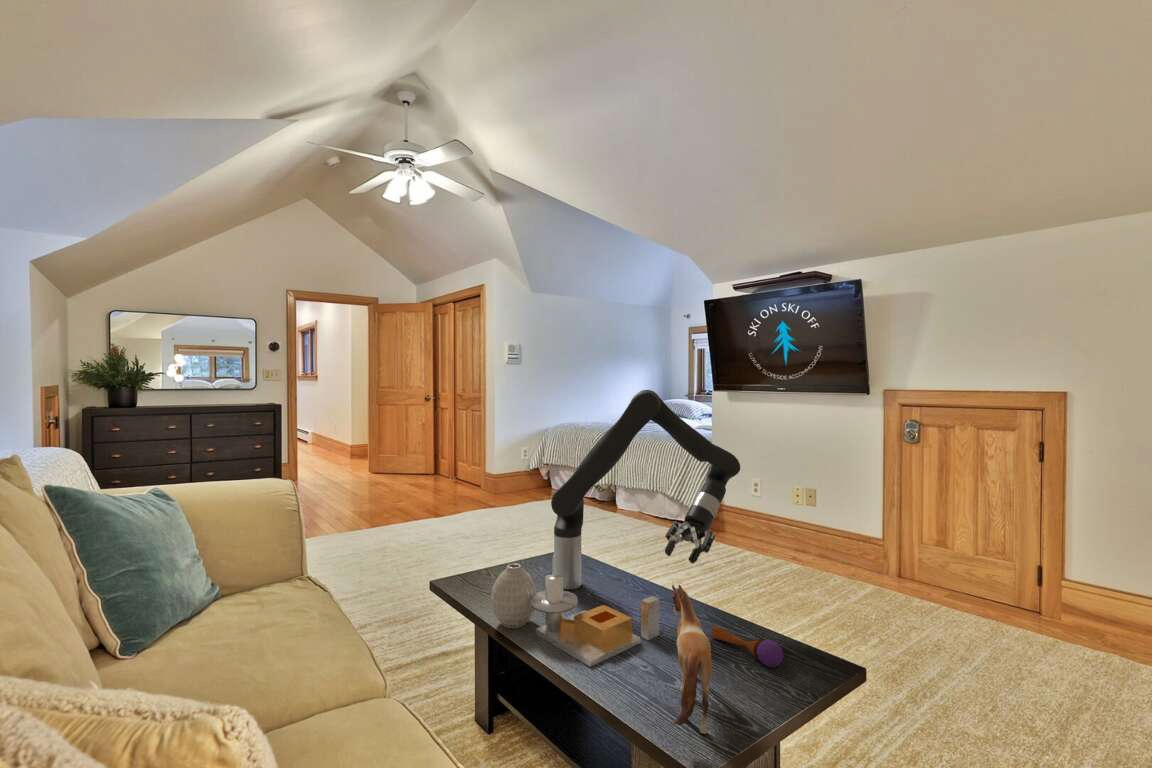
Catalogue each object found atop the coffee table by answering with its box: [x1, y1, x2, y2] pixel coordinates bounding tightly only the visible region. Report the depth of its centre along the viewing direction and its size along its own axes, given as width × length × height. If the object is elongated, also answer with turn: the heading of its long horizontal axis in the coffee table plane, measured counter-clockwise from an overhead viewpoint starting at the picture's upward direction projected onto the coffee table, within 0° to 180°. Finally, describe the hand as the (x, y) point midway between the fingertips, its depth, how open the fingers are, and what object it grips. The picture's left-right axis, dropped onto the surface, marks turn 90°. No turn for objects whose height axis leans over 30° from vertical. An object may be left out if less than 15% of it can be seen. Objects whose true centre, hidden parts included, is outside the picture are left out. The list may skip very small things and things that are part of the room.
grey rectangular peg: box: [640, 595, 660, 641], centre depth 148 cm, size 2×4×10 cm, turn 131°
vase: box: [490, 563, 537, 630], centre depth 155 cm, size 13×13×17 cm
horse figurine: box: [671, 584, 712, 735], centre depth 117 cm, size 31×8×21 cm, turn 170°
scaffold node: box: [530, 573, 641, 668], centre depth 147 cm, size 26×20×16 cm
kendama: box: [710, 625, 784, 668], centre depth 139 cm, size 6×6×20 cm
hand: (678, 558), depth 155 cm, fingers open, 8 cm apart
